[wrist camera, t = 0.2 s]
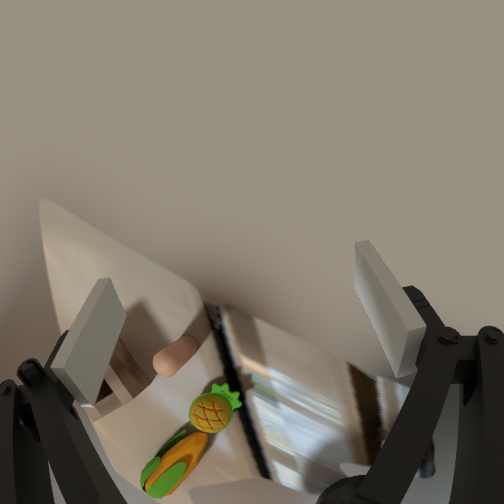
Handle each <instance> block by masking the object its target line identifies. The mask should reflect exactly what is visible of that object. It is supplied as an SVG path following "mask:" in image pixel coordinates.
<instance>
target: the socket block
mask: <svg viewBox="0 0 504 504" xmlns="http://www.w3.org/2000/svg"><path fill="white" fill-rule="evenodd" d="M149 385H150V382H149V381H148V380H147V378H146V377H145V375H144V374H143V373H142V371H141V370H140V368H139V367H138V365H137V364H136V363H135V361H134V360H133V358H132V357H131V355H130V354H129V352H128V351H127V349H126V348H125V346H124V345H123V343H122V342H121V340H120V338H119V337H118V340H117V343H116V345H115V348H114V351H113V353H112V356H111V359H110V362H109V364H108V367H107V370H106V373H105V376H104V378H103V381H102V384H101V387H100V390H99V393H98V396H97V399H96V402H95V405H94V407H83V408H84V409H85V411H86V412H87V414H88V415H89V416H90V418H91V419H92V420H93V422H95V421H96V420H98V419H100V418H102V417H103V416H105V415H107V414H108V413H110V412H112V411H114V410H115V409H117V408H119V407H120V406H122V405H124V404H125V403H127V402H129V401H130V400H132V399H134V398H135V397H136V396H137V395H138V394H139V393H141V392H142V391H143V390H144V389H145V388H146V387H148V386H149Z"/></svg>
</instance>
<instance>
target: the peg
mask: <svg viewBox="0 0 504 504" xmlns="http://www.w3.org/2000/svg"><path fill="white" fill-rule="evenodd" d="M197 350H198V344H197V342H196V340H195V339H194V338H193V337H191V336H182V337H181V338H179V339H178V340H176V341H175V342H173V343H171V344H170V345H168V346H167V347H165V348H164V349H162V350H161V351H159V352H158V353H156V354H155V356H154V358H153V366H154V369H155V370H156V372H157V373H159V374H160V375H162V376H166V377H169V376H172V375H174V374H175V373H176V372H177V371H178V370H179V369H180V368H181V367H182V366H183V365H184V364H185V363H186V362H187V361H188V360H189V359H190V358H191V357H192V356H193V355H194V354H195V353H196V352H197Z"/></svg>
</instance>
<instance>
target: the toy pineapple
mask: <svg viewBox="0 0 504 504" xmlns="http://www.w3.org/2000/svg"><path fill="white" fill-rule="evenodd" d="M239 395H240V393H239V392H237V391H235V392H231V391H229V385H228V383H224V384H223V385H221V386H220V385H218V384H217V383H213V385H212V391H211V392H208V393H205V394H202V395H200V396H199V397H197V398H196V399H195V400H194V401H193V403H192V404H191V407H190V410H189V418H190V421H191V423H192V424H193V425H194V426H195V427H196V428H197V429H199V430H200V431H202V432H206V433H216V432H219V431H221V430H223V429H224V428H226V427H227V426H228V425H229V423H230V421H231V419H232V417H233V409H235V408H238V407H240V406H241V405H242V402H241V401H239V400H238V397H239Z"/></svg>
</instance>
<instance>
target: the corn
mask: <svg viewBox="0 0 504 504" xmlns="http://www.w3.org/2000/svg"><path fill="white" fill-rule="evenodd" d="M185 433H186V430H183V431H182V432H180V433H179V434H177V435H176V436H175V437H174V438H172V439H171V440H170V441H169V442H168V443H167V444H166V445H165V446H164V447H163V448H162V449H161V450H160V451H159V452H158V454H157V455H156V456H155V457H154V458H153V459H152V460H151V461H150V462H149V463H147V465H146V466H145V468H144V469H143V470H142V472H141V479H140V483H141V486H142V489H143V491H145V492H146V493H147V494H148V495H149V496H151V497H153V498H162V497H163V496H167V495H170V494H172V493H173V492H174V490H175V489H176V488H177V487H178V486H179V485H180V484H181V483H182V482H183V481H184V480H185V479H186V477H187V476H188V475H189V474H190V473H191V472H192V471H193V470H194V468H195V467H196V466H197V465H198V462H199V460H200V458H201V456H202V454H203V451H204V449H205V447H206V445H207V442H208V435H207V434H206V433H205V432H195V433H193V434H191V435H190V436H188V437H186V438H184V439H183V440H181V441H180V442H179V440H180V439H181V438H182V437H183V436H184V434H185ZM143 484H144V486H143Z"/></svg>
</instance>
